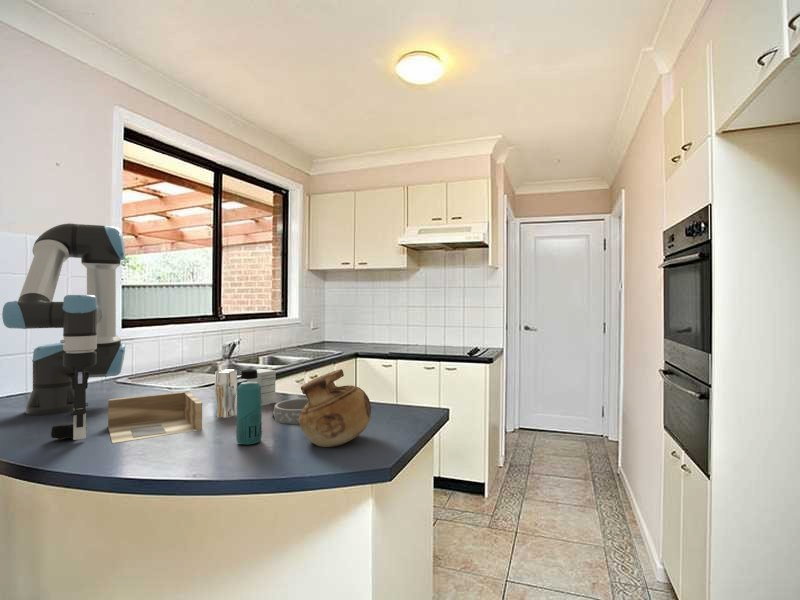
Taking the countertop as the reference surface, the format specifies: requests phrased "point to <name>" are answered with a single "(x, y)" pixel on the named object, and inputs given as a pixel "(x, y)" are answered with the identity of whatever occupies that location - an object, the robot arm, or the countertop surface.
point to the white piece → (225, 392)
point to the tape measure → (62, 431)
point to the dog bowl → (289, 410)
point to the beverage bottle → (249, 409)
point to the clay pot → (333, 411)
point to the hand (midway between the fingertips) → (79, 434)
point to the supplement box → (266, 385)
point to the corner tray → (153, 416)
